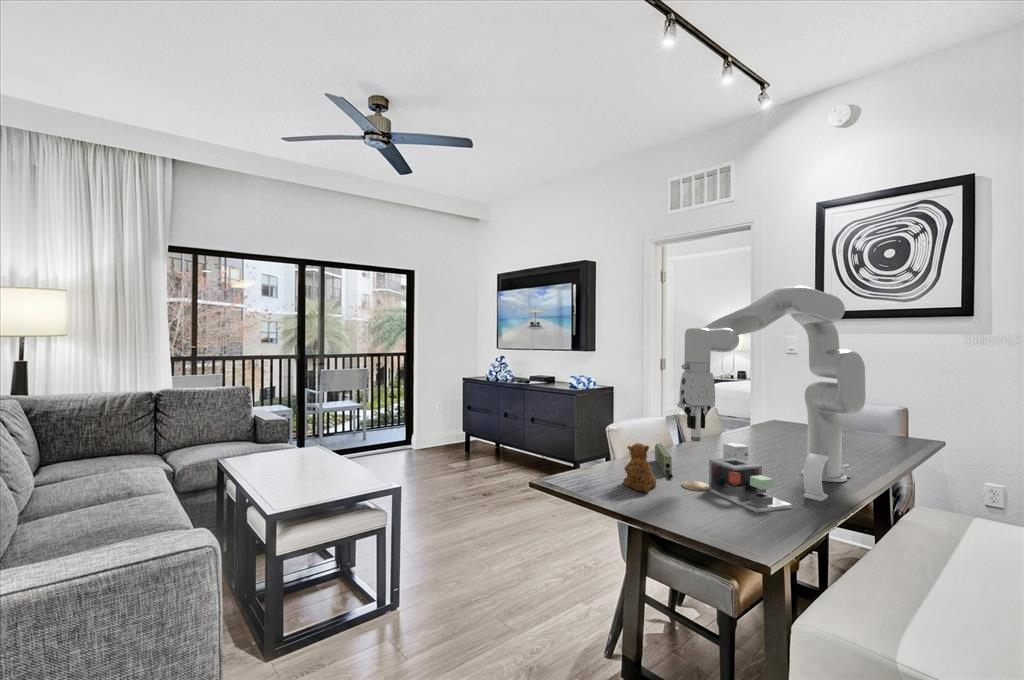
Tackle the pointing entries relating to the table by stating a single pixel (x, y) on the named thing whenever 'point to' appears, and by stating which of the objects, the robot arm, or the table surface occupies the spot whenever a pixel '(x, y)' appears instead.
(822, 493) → the headphone stand
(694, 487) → the cork coaster
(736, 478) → the plunger
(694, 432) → the white rounded rod
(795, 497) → the table surface
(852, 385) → the robot arm
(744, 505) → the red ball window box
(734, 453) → the skincare box
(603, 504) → the table surface
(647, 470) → the brown rounded furry figure
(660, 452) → the handheld radio
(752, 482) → the on button
